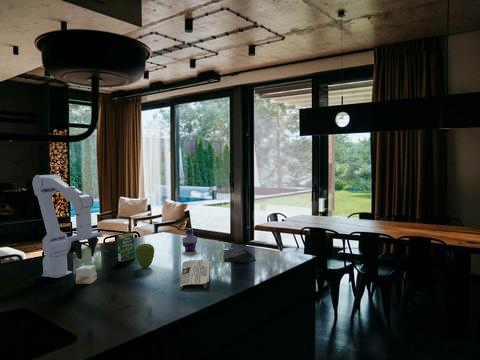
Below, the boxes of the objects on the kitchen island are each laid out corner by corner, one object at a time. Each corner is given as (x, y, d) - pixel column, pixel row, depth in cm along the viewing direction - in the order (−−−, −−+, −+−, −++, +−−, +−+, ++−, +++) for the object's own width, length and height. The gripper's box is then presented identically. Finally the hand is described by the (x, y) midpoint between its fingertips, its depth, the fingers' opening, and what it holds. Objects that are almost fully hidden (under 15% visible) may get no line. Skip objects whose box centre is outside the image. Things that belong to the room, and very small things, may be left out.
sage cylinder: (77, 261, 148) (76, 249, 147) (85, 259, 152) (85, 247, 152) (85, 262, 146) (85, 250, 146) (94, 259, 150) (93, 247, 150)
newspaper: (182, 265, 170) (182, 258, 170) (209, 263, 172) (209, 256, 172) (179, 292, 135) (179, 283, 135) (213, 290, 137) (213, 280, 137)
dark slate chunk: (251, 251, 193) (251, 242, 193) (255, 262, 171) (255, 252, 171) (223, 252, 192) (222, 243, 192) (223, 264, 171) (223, 254, 170)
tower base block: (76, 284, 147) (75, 277, 146) (82, 279, 153) (82, 272, 152) (90, 284, 147) (90, 276, 146) (97, 279, 153) (96, 272, 152)
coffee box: (120, 262, 176) (119, 235, 175) (117, 261, 178) (116, 235, 177) (135, 259, 182) (134, 233, 181) (132, 258, 184) (131, 232, 183)
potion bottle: (178, 250, 197) (178, 228, 196) (192, 247, 203) (191, 226, 202) (187, 253, 190) (187, 230, 190) (201, 250, 196) (200, 228, 196)
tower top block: (76, 276, 147) (76, 269, 147) (82, 272, 152) (82, 265, 152) (90, 276, 147) (89, 269, 147) (95, 272, 152) (95, 265, 152)
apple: (149, 270, 161) (148, 245, 161) (132, 270, 163) (131, 244, 162) (158, 265, 170) (157, 240, 169) (141, 264, 172) (140, 240, 171)
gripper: (70, 228, 140) (72, 262, 141) (105, 222, 151) (107, 255, 152) (62, 226, 145) (64, 260, 146) (97, 221, 156) (98, 252, 156)
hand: (85, 257), depth 149 cm, fingers closed on sage cylinder, 4 cm apart
